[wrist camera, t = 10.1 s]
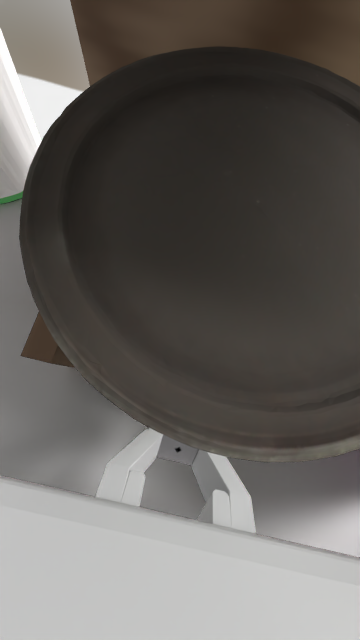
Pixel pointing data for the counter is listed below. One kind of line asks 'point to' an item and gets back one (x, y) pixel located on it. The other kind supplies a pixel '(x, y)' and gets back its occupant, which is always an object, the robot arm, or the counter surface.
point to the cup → (14, 130)
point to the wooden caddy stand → (206, 31)
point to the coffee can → (208, 249)
